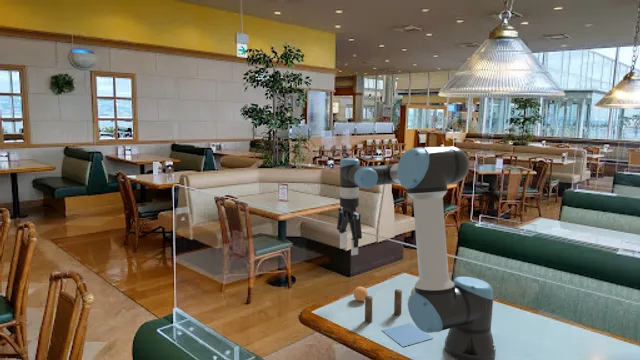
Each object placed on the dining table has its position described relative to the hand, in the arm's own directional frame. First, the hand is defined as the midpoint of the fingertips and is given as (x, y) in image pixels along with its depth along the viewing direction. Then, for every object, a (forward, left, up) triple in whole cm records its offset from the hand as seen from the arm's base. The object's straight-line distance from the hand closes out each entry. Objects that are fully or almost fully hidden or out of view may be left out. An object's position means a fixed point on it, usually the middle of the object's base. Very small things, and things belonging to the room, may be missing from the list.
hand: (348, 251), depth 185 cm
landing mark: (-40, 0, -17) cm, 43 cm away
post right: (-26, -6, -17) cm, 32 cm away
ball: (-10, 0, -15) cm, 17 cm away
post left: (-26, +6, -17) cm, 32 cm away
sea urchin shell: (-19, -23, -18) cm, 35 cm away
